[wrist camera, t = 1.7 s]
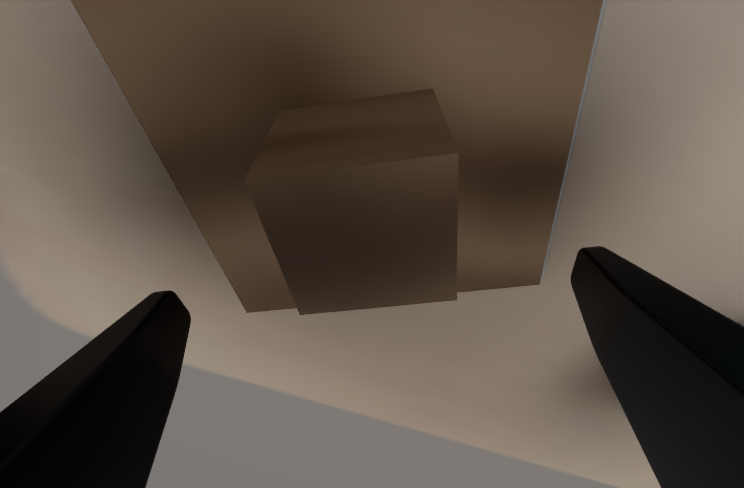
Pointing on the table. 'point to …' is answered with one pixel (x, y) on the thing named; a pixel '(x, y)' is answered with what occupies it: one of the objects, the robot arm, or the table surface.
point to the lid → (358, 136)
